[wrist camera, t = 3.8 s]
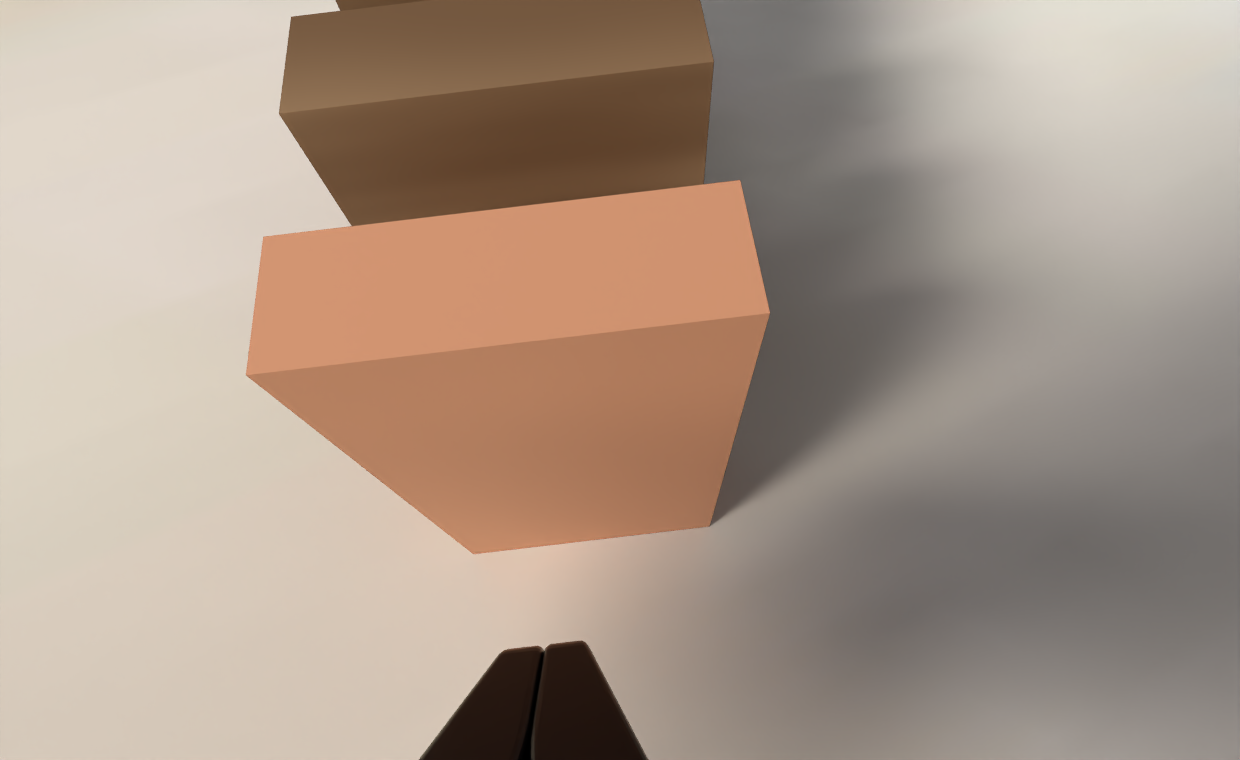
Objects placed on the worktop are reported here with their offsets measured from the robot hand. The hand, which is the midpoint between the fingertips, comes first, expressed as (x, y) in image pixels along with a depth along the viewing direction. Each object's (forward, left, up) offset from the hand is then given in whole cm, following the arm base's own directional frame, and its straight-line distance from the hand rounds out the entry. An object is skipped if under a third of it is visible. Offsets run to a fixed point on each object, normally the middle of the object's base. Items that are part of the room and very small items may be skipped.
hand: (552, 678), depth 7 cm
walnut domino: (+7, +2, -7) cm, 10 cm away
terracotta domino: (+3, +1, -7) cm, 8 cm away
